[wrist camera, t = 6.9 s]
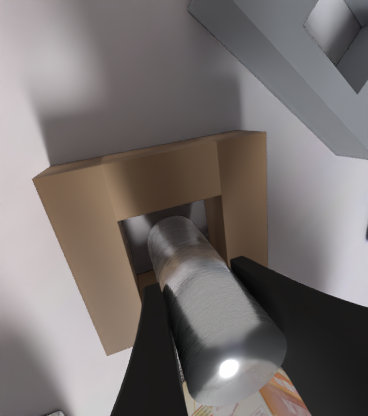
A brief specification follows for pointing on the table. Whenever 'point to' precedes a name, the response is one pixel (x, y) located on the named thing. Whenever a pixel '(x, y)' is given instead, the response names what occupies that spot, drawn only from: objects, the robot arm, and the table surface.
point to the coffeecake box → (256, 401)
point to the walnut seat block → (147, 203)
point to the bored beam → (298, 64)
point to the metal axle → (212, 317)
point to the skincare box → (57, 414)
